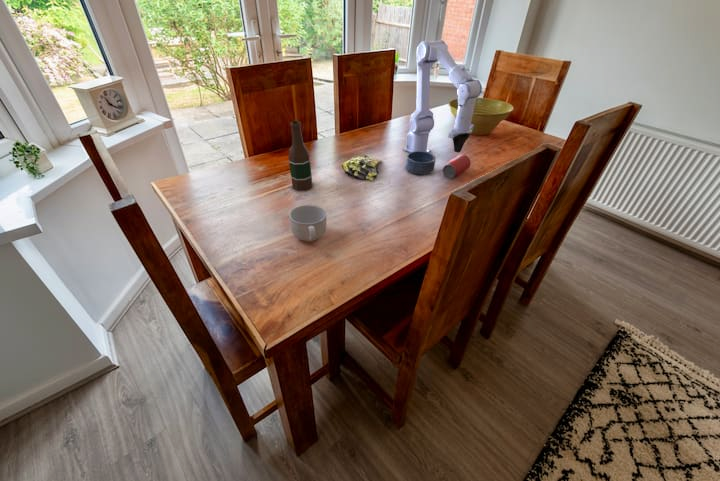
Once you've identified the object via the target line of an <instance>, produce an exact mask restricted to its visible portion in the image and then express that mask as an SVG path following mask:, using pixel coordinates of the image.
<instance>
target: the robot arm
mask: <svg viewBox="0 0 720 481" xmlns="http://www.w3.org/2000/svg"><path fill="white" fill-rule="evenodd" d="M437 62H439V63H440V64H441V66H442V67H443V68H444V69H445V70H446V71H447V72H448V79H449V81H451V83H452V84H453V86H454V87H455V88H456V95H457V99H458V110H457V115H456V117H455V121H454V126H453V127H452V129H451V130H450V131H449V132H448V134H447V138H449V139H452V142H453V151H454V152H455V153H458V154H460V153H461V152H462V150H463V148H464V145H465V143H466V141H467V140H468V139H469V138H470V136H471V134H469V133H471V132H472V130H473V127H474V125H473V124H471V120H472V116H473V111H474V106H475V102H476V98H479V97H480V96H481V94H482V91H483V87H482V83H481V81H480V80H479V79H474V78H473V76H471V75H470V74H469V73H468V71H467V70H466V67H465V66H464V65H461V64H460V65H458V64H457V62H456V61H455V59H454V57H452V55H451V53H450V52H449V46H448V44H447V43H446V42H445V40H443V39H439V40H429V41H426V40H422V41H421V42H420V43H419V44H418V46H417V47H416V100H415V101H416V105H415V106H416V107H415V110H414V111H413V112H412V114H411V115H410V120H409V126H408V127H409V131H408V132H407V134H406V137H405V139H406V140H405V148H404V151H406V152H408V153H411V152H416V151H422V152H428V153H431V149H428V143H429V136H430V133H431V131H432V130H433V129H434V127H435V119H434V113H433V112H432V111H431V109H430V87H431V86H430V84H431V68H432V67H433V66H434V64H436V63H437Z"/></svg>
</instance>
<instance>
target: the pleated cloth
mask: <svg viewBox="0 0 720 481" xmlns="http://www.w3.org/2000/svg"><path fill="white" fill-rule="evenodd" d="M381 163H382V159H378V158H373V157H372V156H368V155H366V154H365V153H364V154H363V155H360V156H354V157H351V158H350V159H349V160H346V161H344V162H342V161H341V167H342V169H343V171H344V174H346V175H349V176H351V177H352V178H356V179H359V180H369V181H371V182H372V181H374V178H377V176H378V174H380V173H379V170H378V167H379V165H380V164H381Z"/></svg>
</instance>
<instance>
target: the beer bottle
mask: <svg viewBox="0 0 720 481" xmlns="http://www.w3.org/2000/svg"><path fill="white" fill-rule="evenodd" d="M289 127H290V129H291V130H290V131H291V147H290V148H289V153H288V163H289V171H290V178H291V186H292V188H293V190H296V191H299V192H301V191H308V190H310V189H312V187H313V175H312V174H313V173H312V166H311V157H310V155H311V154H310V151H309V149H308V148H307V147H306V145H305V143H304V140H303V134H302V129H301V128H302V123H301V122H300V121H298V120H293V121H290V124H289Z"/></svg>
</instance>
